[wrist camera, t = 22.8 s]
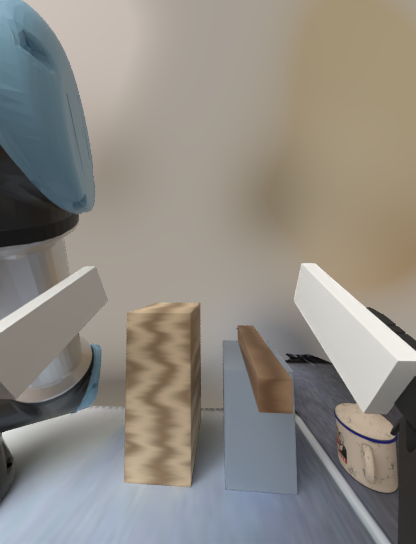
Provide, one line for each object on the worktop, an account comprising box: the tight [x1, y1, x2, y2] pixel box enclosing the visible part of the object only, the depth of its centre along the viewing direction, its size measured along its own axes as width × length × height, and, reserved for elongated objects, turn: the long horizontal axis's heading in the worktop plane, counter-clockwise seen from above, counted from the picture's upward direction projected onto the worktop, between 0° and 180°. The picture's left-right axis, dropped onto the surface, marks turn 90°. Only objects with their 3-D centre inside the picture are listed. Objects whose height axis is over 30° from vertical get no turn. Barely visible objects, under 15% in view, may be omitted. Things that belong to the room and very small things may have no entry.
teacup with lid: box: [334, 403, 398, 493], centre depth 33 cm, size 12×9×12 cm
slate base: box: [223, 341, 297, 495], centre depth 39 cm, size 12×16×20 cm
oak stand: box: [124, 303, 201, 487], centre depth 40 cm, size 12×16×30 cm
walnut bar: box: [238, 326, 293, 414], centre depth 34 cm, size 4×26×4 cm, turn 176°
